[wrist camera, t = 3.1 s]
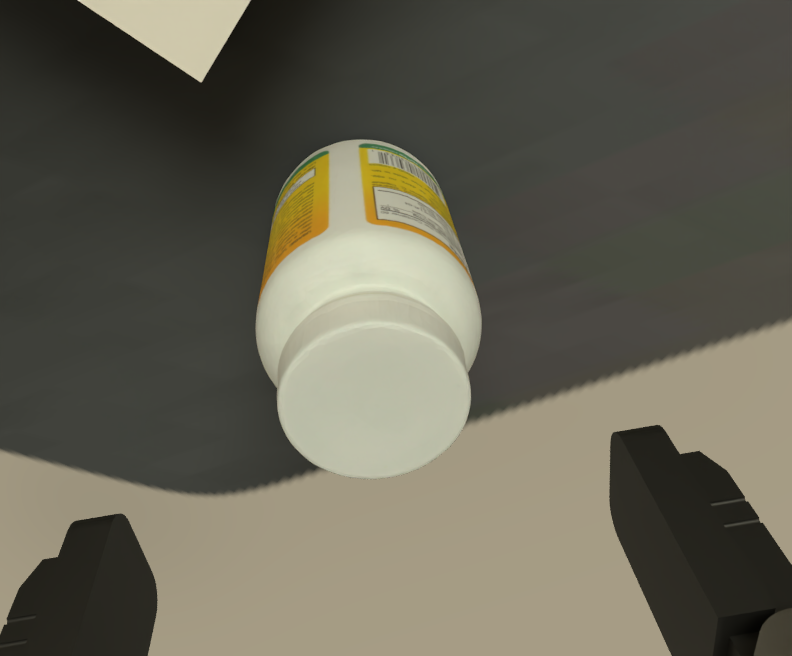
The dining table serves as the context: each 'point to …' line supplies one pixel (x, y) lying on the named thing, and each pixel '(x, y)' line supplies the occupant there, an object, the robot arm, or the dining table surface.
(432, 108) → the dining table surface
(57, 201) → the dining table surface
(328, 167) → the supplement bottle
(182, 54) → the scale base
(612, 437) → the robot arm
